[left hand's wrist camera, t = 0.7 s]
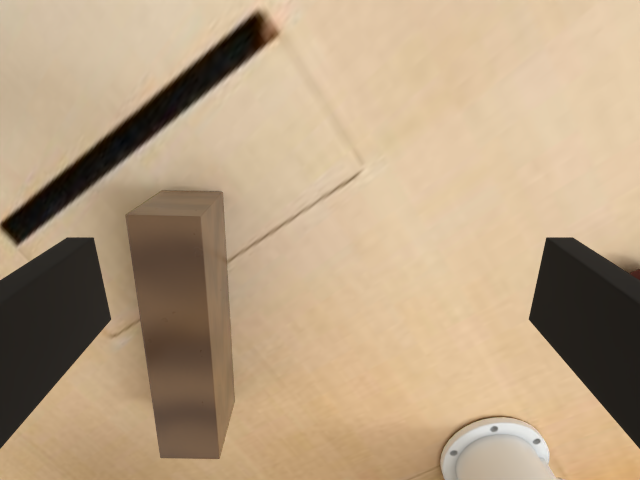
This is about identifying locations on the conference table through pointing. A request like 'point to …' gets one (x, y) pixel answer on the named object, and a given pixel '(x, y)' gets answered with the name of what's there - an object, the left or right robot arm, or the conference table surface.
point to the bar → (185, 318)
